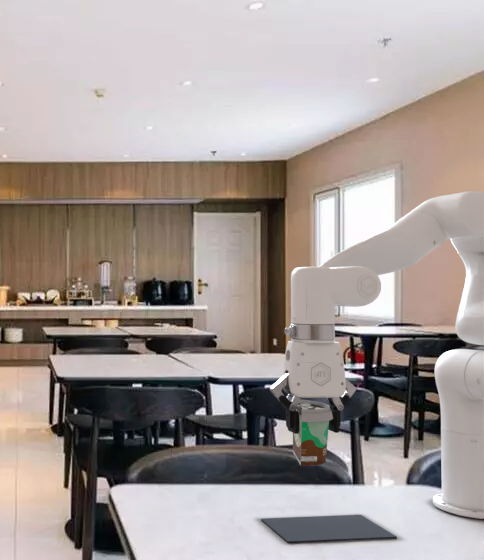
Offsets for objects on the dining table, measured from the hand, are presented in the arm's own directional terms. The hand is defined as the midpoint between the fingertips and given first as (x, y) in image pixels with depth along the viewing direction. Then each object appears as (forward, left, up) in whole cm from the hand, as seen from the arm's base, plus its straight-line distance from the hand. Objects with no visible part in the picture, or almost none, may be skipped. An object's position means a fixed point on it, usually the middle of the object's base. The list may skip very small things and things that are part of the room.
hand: (313, 430), depth 113 cm
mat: (-2, +1, -18) cm, 18 cm away
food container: (0, 0, -5) cm, 5 cm away
